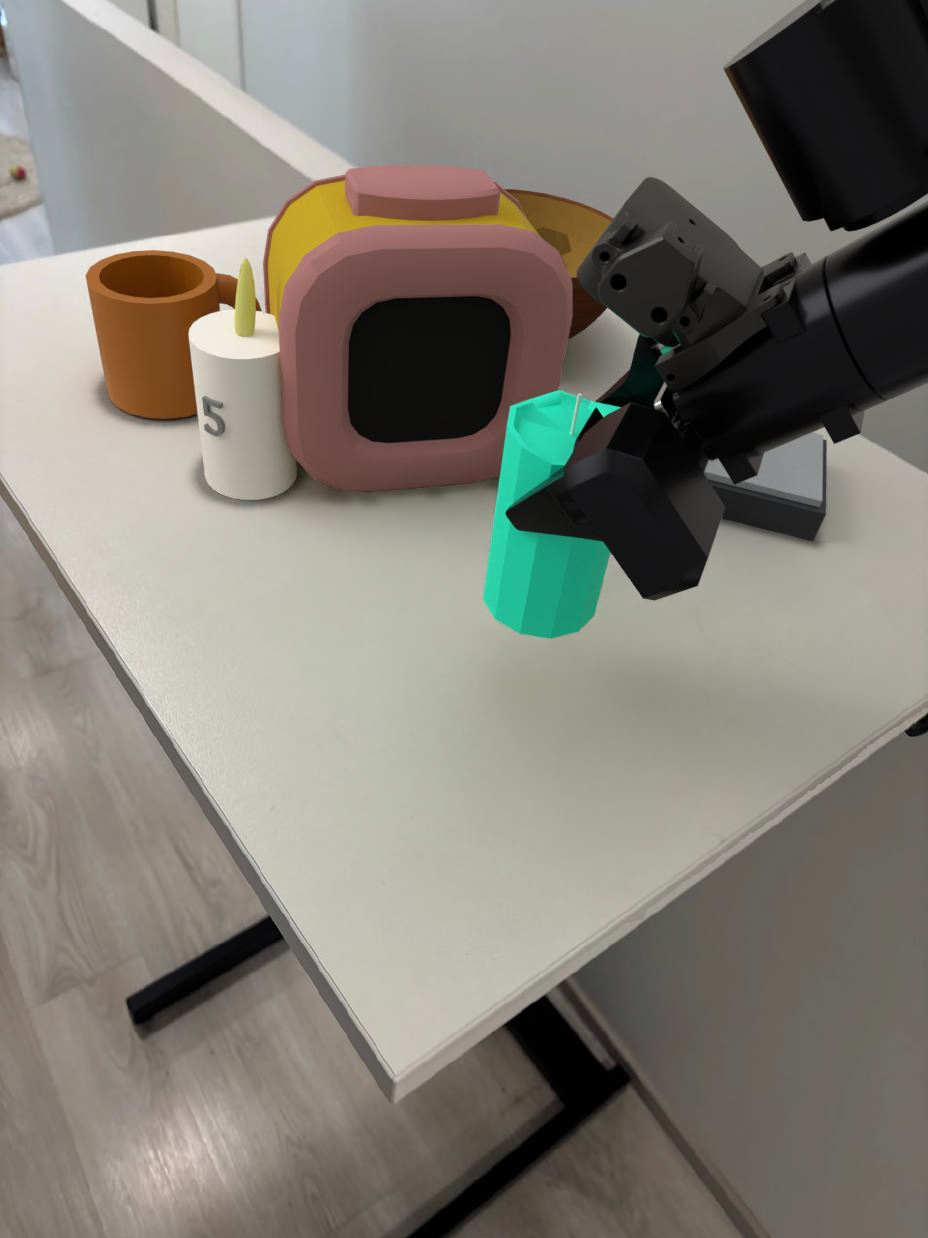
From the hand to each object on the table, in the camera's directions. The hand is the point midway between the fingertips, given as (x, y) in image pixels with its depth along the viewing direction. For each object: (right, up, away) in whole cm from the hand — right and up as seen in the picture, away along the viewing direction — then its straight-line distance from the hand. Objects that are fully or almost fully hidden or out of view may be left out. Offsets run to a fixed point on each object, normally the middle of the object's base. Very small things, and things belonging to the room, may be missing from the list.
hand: (533, 484), depth 43 cm
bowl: (+1, +18, +38) cm, 42 cm away
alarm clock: (-8, +6, +24) cm, 26 cm away
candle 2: (+1, -5, +4) cm, 7 cm away
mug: (-25, +11, +27) cm, 38 cm away
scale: (+18, +4, +26) cm, 32 cm away
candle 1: (-18, +4, +20) cm, 28 cm away
